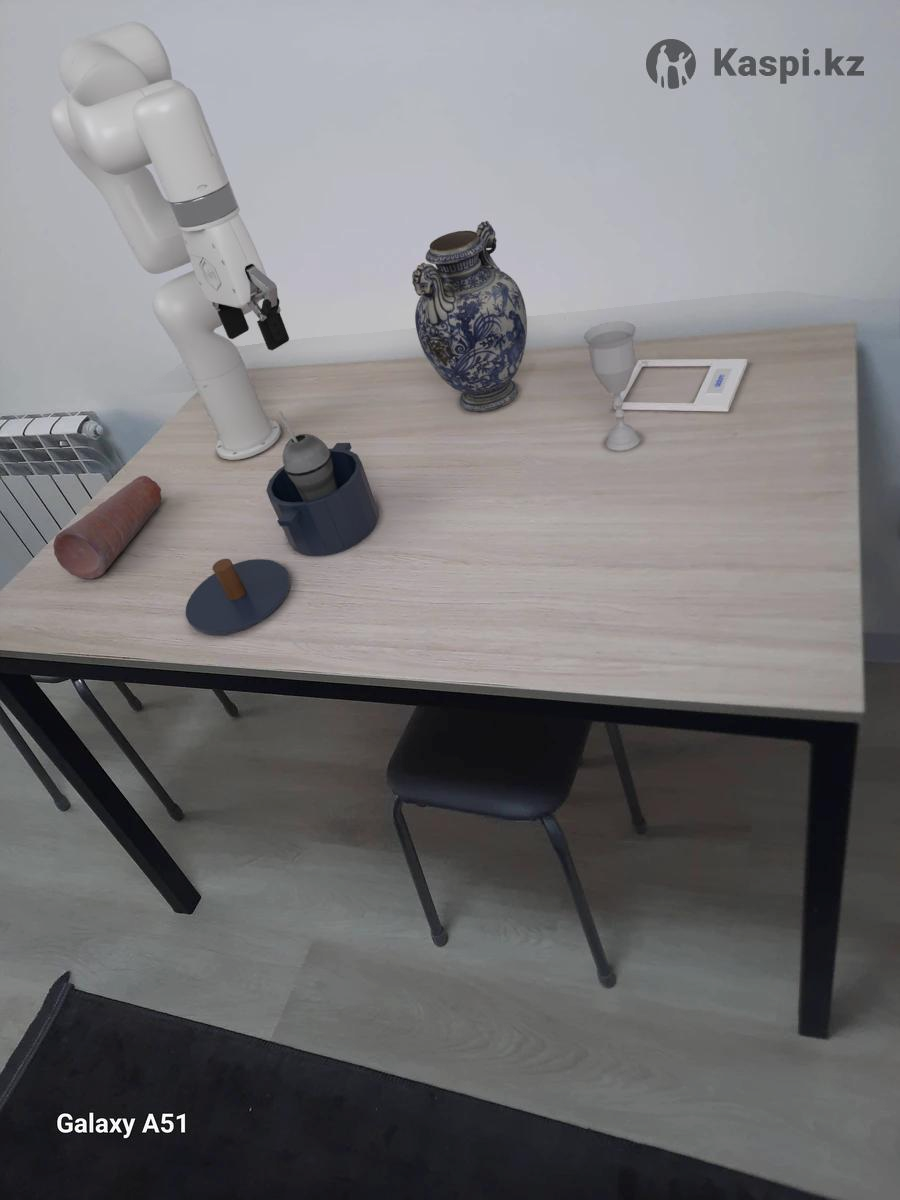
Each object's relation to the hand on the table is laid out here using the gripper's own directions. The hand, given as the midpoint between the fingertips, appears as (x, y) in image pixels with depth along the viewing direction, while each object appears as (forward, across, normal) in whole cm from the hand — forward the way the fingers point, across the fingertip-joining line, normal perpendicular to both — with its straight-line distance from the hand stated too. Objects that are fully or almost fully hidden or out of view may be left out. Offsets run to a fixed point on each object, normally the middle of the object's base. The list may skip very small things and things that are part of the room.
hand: (258, 339), depth 113 cm
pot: (+31, 0, 0) cm, 31 cm away
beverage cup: (+31, 0, 0) cm, 31 cm away
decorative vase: (+32, -4, +40) cm, 51 cm away
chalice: (+32, +27, +38) cm, 56 cm away
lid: (+31, +1, -19) cm, 36 cm away
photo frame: (+31, +26, +55) cm, 68 cm away
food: (+32, -32, -21) cm, 49 cm away
